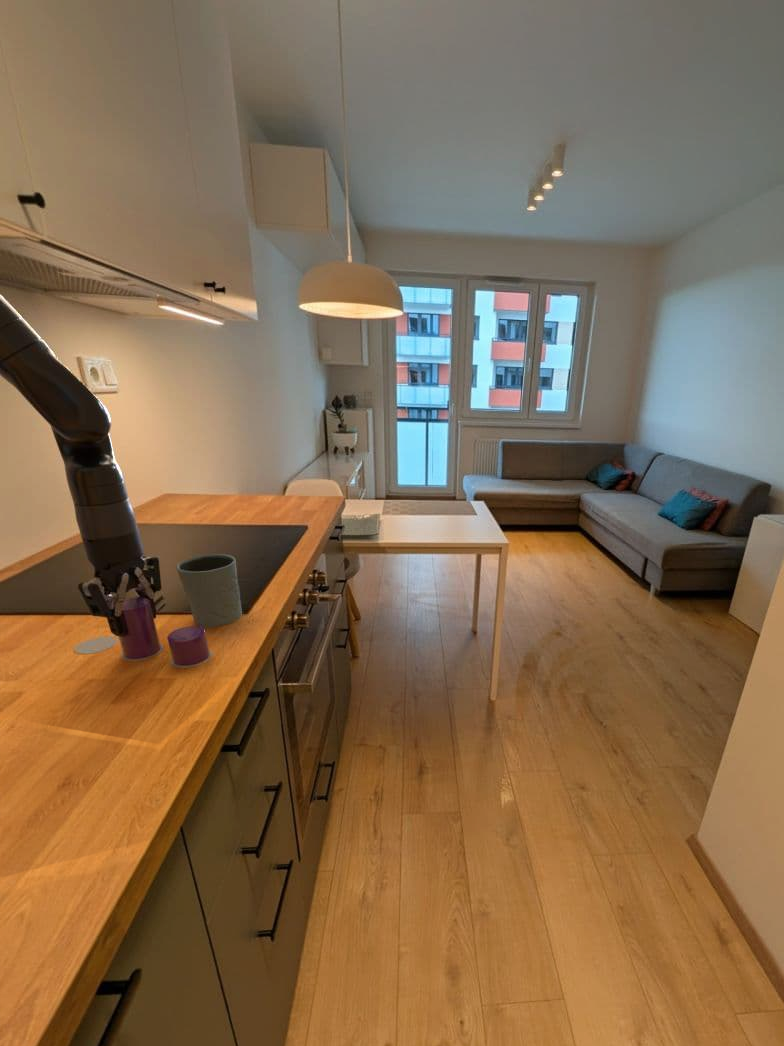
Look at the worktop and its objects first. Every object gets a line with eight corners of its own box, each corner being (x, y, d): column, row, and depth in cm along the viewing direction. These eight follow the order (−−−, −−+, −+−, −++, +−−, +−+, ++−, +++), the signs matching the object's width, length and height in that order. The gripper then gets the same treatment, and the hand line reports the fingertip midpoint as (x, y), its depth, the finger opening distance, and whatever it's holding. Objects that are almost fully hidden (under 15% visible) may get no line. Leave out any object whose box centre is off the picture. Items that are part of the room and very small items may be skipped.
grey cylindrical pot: (244, 626, 97) (234, 568, 92) (186, 634, 94) (172, 574, 89) (245, 606, 106) (236, 551, 101) (192, 612, 102) (179, 556, 98)
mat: (49, 662, 84) (48, 659, 84) (108, 630, 95) (107, 627, 95) (185, 682, 79) (185, 678, 79) (231, 645, 90) (231, 642, 90)
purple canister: (165, 663, 83) (159, 639, 82) (188, 647, 88) (183, 624, 87) (195, 667, 82) (189, 643, 80) (216, 651, 87) (212, 627, 85)
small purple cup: (115, 657, 85) (108, 633, 83) (141, 641, 90) (134, 618, 88) (144, 661, 84) (137, 637, 82) (168, 645, 89) (162, 622, 87)
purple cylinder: (108, 633, 83) (101, 608, 81) (134, 618, 88) (128, 595, 86) (137, 637, 82) (131, 611, 80) (162, 622, 87) (156, 598, 85)
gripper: (125, 516, 85) (148, 607, 92) (46, 541, 73) (80, 644, 79) (164, 519, 84) (184, 611, 91) (90, 545, 71) (121, 649, 78)
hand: (135, 626), depth 85 cm, fingers closed on purple cylinder, 5 cm apart
